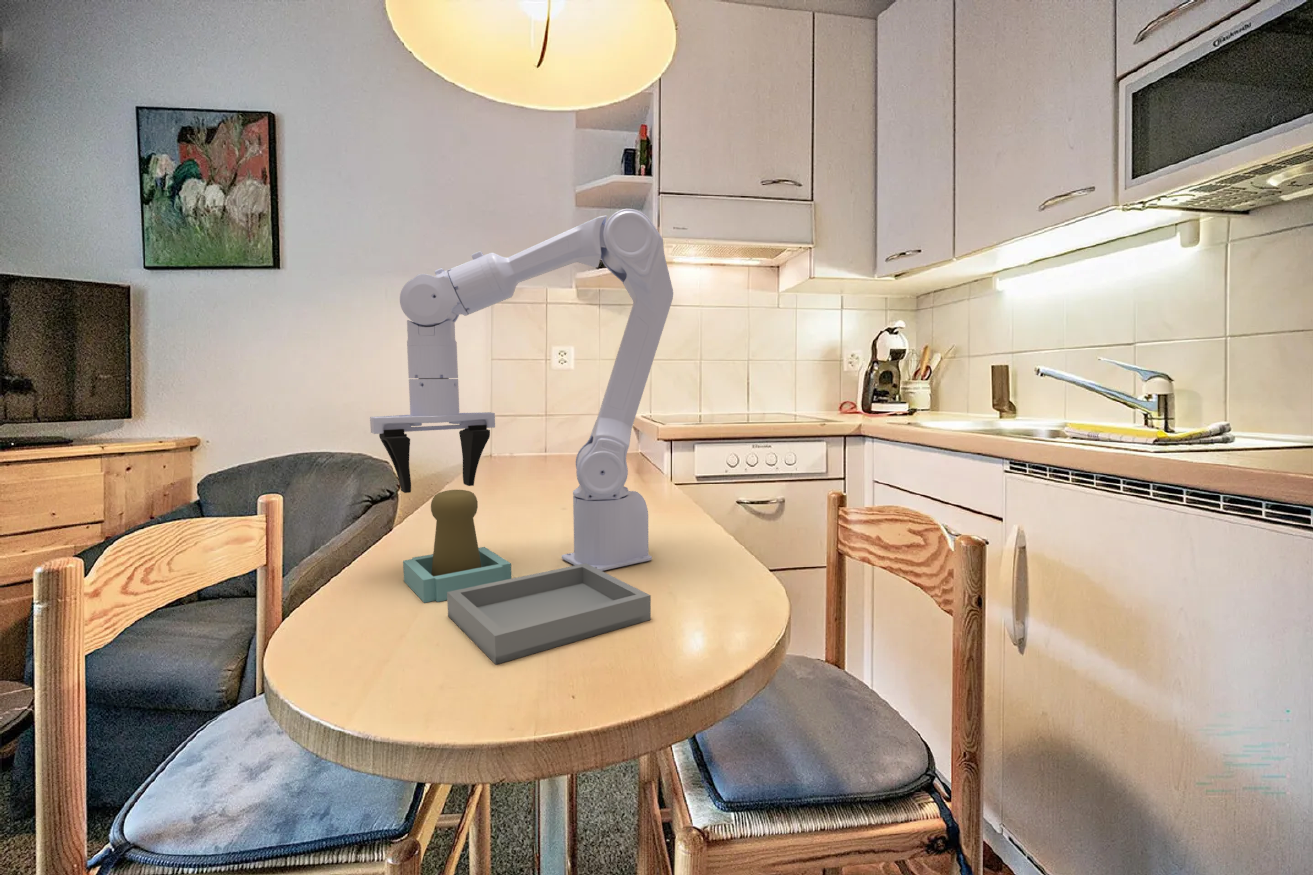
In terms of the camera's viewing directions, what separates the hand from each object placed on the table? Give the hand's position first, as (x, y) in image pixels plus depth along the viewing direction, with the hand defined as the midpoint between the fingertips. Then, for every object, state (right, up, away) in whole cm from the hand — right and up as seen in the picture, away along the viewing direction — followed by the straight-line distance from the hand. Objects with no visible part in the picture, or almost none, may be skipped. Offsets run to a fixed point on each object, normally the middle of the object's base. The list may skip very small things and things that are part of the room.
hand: (438, 488), depth 75 cm
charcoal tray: (+16, -12, -15) cm, 25 cm away
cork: (+4, -11, -4) cm, 12 cm away
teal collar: (+4, -11, -4) cm, 12 cm away
